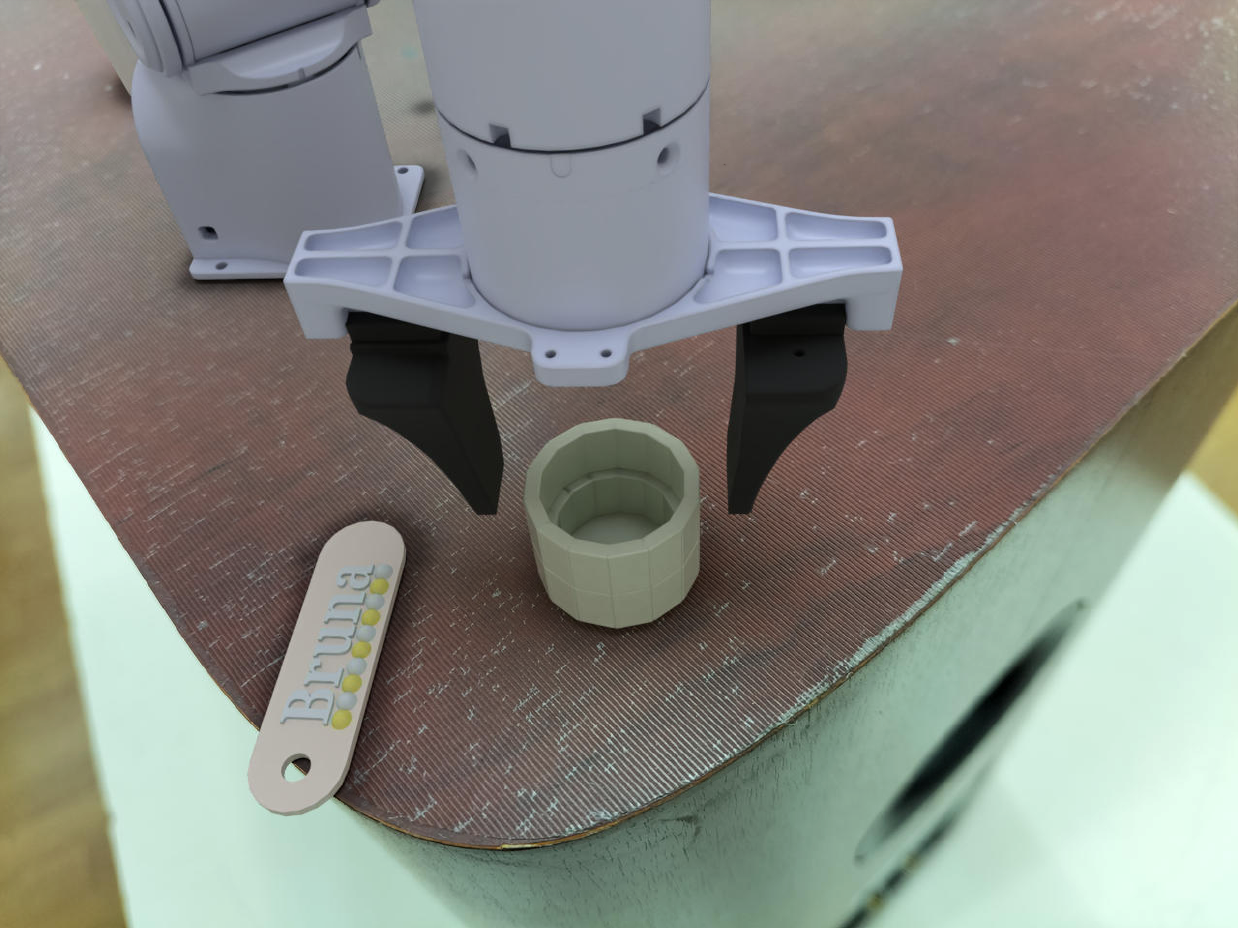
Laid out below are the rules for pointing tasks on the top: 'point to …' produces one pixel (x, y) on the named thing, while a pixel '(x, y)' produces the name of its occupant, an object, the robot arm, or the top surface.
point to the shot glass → (110, 38)
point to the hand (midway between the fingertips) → (613, 489)
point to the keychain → (328, 669)
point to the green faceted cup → (615, 521)
